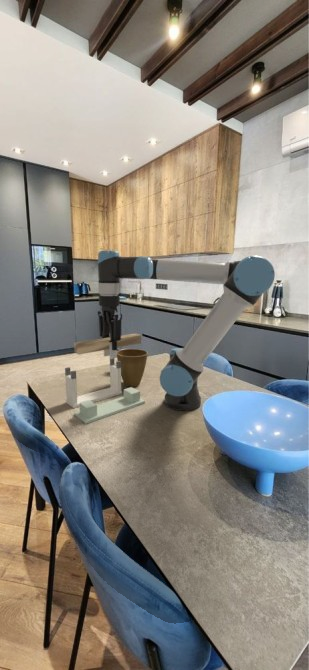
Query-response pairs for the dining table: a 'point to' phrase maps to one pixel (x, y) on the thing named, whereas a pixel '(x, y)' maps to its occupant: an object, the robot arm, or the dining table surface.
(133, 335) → the rail
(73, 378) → the stand
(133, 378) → the plant pot
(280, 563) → the dining table surface
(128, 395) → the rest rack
